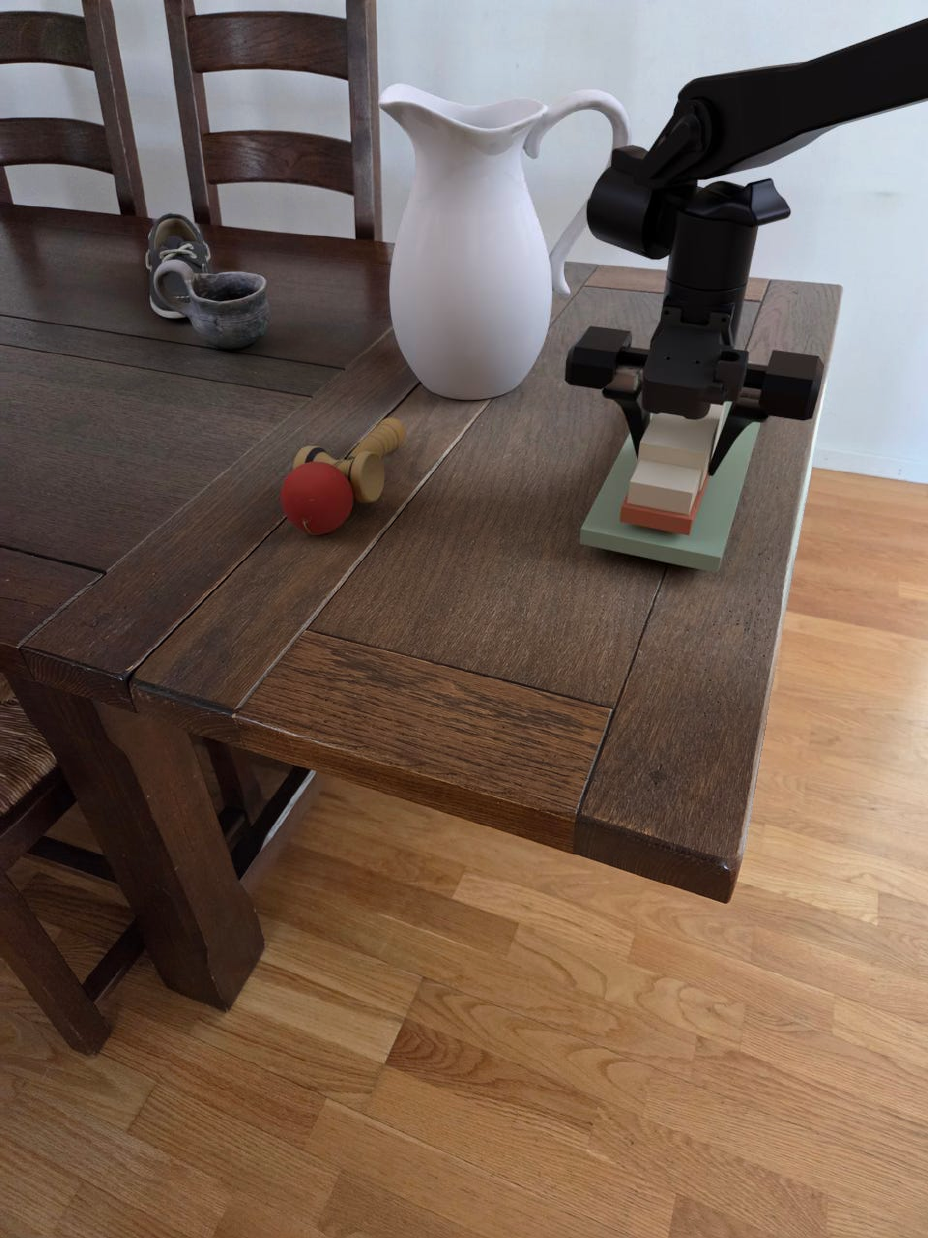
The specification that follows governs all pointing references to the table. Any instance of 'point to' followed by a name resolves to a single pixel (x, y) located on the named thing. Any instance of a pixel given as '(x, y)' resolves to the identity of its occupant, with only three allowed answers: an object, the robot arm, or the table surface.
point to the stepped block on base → (672, 471)
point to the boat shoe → (175, 258)
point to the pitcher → (478, 238)
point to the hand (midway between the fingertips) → (675, 467)
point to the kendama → (337, 480)
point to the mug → (219, 304)
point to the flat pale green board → (666, 546)
